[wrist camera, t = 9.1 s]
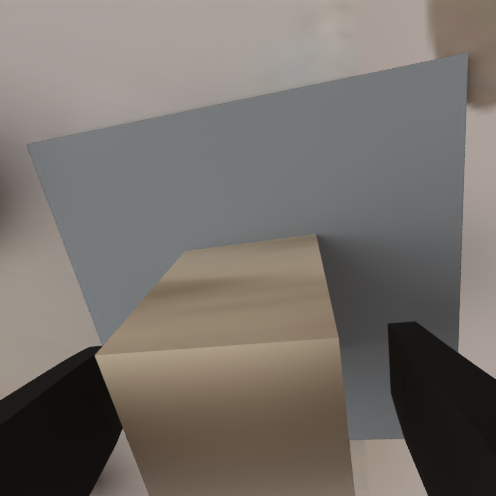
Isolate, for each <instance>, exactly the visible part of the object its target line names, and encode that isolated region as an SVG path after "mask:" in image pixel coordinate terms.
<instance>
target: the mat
mask: <svg viewBox="0 0 496 496" xmlns="http://www.w3.org/2000/svg"><path fill="white" fill-rule="evenodd" d="M467 73H468V53H465V54H460V55H455V56H450V57H446V58H441V59H436V60H431V61H427V62H421V63H417V64H412V65H407V66H403V67H398V68H393V69H388V70H384V71H378V72H373V73H369V74H364V75H359V76H354V77H349V78H344V79H340V80H335V81H330V82H325V83H320V84H316V85H311V86H306V87H301V88H296V89H292V90H287V91H282V92H277V93H272V94H267V95H263V96H258V97H253V98H248V99H243V100H239V101H234V102H229V103H224V104H219V105H215V106H210V107H205V108H200V109H195V110H190V111H186V112H181V113H176V114H171V115H166V116H162V117H157V118H152V119H147V120H142V121H137V122H133V123H128V124H123V125H118V126H113V127H109V128H104V129H99V130H94V131H89V132H85V133H80V134H75V135H70V136H65V137H60V138H56V139H51V140H46V141H41V142H36V143H32V144H27V147H28V150H29V153H30V155H31V158H32V161H33V163H34V166H35V169H36V171H37V174H38V177H39V179H40V182H41V185H42V187H43V190H44V193H45V195H46V198H47V200H48V203H49V206H50V208H51V211H52V214H53V216H54V219H55V222H56V224H57V227H58V230H59V232H60V235H61V238H62V240H63V243H64V245H65V248H66V251H67V253H68V256H69V259H70V261H71V264H72V267H73V269H74V272H75V275H76V277H77V280H78V283H79V285H80V288H81V290H82V293H83V296H84V298H85V301H86V304H87V306H88V309H89V312H90V314H91V317H92V320H93V322H94V325H95V328H96V330H97V333H98V336H99V338H100V341H101V343H102V346H103V345H104V344H105V343H106V342H107V341H108V339H109V338H110V337H111V336H112V335H113V334H114V333H115V331H116V330H117V329H118V328H119V327H120V326H121V324H122V323H123V322H124V321H125V320H126V319H127V317H128V316H129V315H130V314H131V313H132V312H133V310H134V309H135V308H136V307H137V306H138V305H139V304H140V302H141V301H142V300H143V299H144V298H145V297H146V295H147V294H148V293H149V292H150V291H151V290H152V288H153V287H154V286H155V285H156V284H157V283H158V282H159V280H160V279H161V278H162V277H163V276H164V275H165V273H166V272H167V271H168V270H169V269H170V268H171V266H172V265H173V264H174V263H175V262H176V261H177V260H178V258H179V257H180V256H181V255H182V254H183V253H184V251H189V250H196V249H204V248H212V247H220V246H228V245H235V244H243V243H251V242H259V241H267V240H275V239H282V238H290V237H298V236H306V235H314V234H316V237H317V241H318V246H319V250H320V255H321V259H322V264H323V269H324V273H325V278H326V282H327V287H328V291H329V296H330V301H331V305H332V310H333V314H334V319H335V323H336V328H337V333H338V337H339V346H340V356H341V366H342V376H343V385H344V395H345V405H346V415H347V424H348V434H349V440H367V439H404V436H403V433H402V430H401V426H400V423H399V420H398V416H397V413H396V410H395V406H394V403H393V399H392V396H391V389H390V367H389V346H388V325H387V323H400V322H413V321H416V322H417V323H418V324H420V325H421V326H423V327H424V328H425V329H427V330H428V331H429V332H431V333H432V334H433V335H435V336H436V337H437V338H439V339H440V340H441V341H443V342H444V343H446V344H447V345H448V346H450V347H451V348H452V349H454V350H455V351H456V352H458V338H459V309H460V308H459V307H460V279H461V250H462V219H463V190H464V161H465V160H464V158H465V132H466V131H465V130H466V102H467Z"/></svg>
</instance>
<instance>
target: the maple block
mask: <svg viewBox="0 0 496 496" xmlns="http://www.w3.org/2000/svg"><path fill="white" fill-rule="evenodd" d="M95 358H96V360H97V363H98V365H99V368H100V370H101V373H102V375H103V378H104V381H105V383H106V386H107V388H108V391H109V393H110V396H111V399H112V401H113V404H114V406H115V409H116V411H117V414H118V416H119V419H120V422H121V424H122V427H123V429H124V432H125V434H126V437H127V440H128V442H129V445H130V447H131V450H132V452H133V455H134V458H135V460H136V463H137V465H138V468H139V470H140V473H141V475H142V478H143V481H144V483H145V486H146V488H147V491H148V493H149V496H355V493H354V483H353V473H352V463H351V454H350V444H349V434H348V424H347V415H346V405H345V395H344V385H343V376H342V366H341V356H340V346H339V337H338V333H337V328H336V323H335V319H334V314H333V310H332V305H331V301H330V296H329V291H328V287H327V282H326V278H325V273H324V269H323V264H322V259H321V255H320V250H319V246H318V241H317V237H316V234H314V235H306V236H298V237H290V238H282V239H275V240H267V241H259V242H251V243H243V244H235V245H228V246H220V247H212V248H204V249H196V250H189V251H184V253H183V254H182V255H181V256H180V257H179V258H178V260H177V261H176V262H175V263H174V264H173V265H172V266H171V268H170V269H169V270H168V271H167V272H166V273H165V275H164V276H163V277H162V278H161V279H160V280H159V282H158V283H157V284H156V285H155V286H154V287H153V288H152V290H151V291H150V292H149V293H148V294H147V295H146V297H145V298H144V299H143V300H142V301H141V302H140V304H139V305H138V306H137V307H136V308H135V309H134V310H133V312H132V313H131V314H130V315H129V316H128V317H127V319H126V320H125V321H124V322H123V323H122V324H121V326H120V327H119V328H118V329H117V330H116V331H115V333H114V334H113V335H112V336H111V337H110V338H109V339H108V341H107V342H106V343H105V344H104V345H103V346H102V348H101V349H100V350H99V351H98V352H97V353H96V355H95Z"/></svg>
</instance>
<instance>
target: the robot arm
mask: <svg viewBox="0 0 496 496" xmlns="http://www.w3.org/2000/svg"><path fill="white" fill-rule="evenodd" d="M387 325H388V346H389V367H390V389H391V396H392V399H393V403H394V406H395V410H396V413H397V416H398V420H399V423H400V426H401V430H402V433H403V436H404V439H405V441H406V444H407V446H408V449H409V451H410V453H411V456H412V458H413V461H414V463H415V465H416V468H417V470H418V473H419V475H420V477H421V480H422V482H423V485H424V487H425V489H426V492H427V494H428V496H496V379H495V378H493V377H492V376H490V375H489V374H487V373H486V372H484V371H483V370H482V369H480V368H479V367H477V366H476V365H474V364H473V363H472V362H470V361H469V360H467V359H466V358H464V357H463V356H462V355H461V354H459V353H458V352H456V351H455V350H454V349H452V348H451V347H450V346H448V345H447V344H446V343H444V342H443V341H441V340H440V339H439V338H437V337H436V336H435V335H433V334H432V333H431V332H429V331H428V330H427V329H425V328H424V327H423V326H421V325H420V324H418V323H417V322H416V321H413V322H400V323H387ZM101 348H102V346H94V347H89V348H87V349H84V350H82V351H80V352H79V353H77V354H75V355H73V356H71V357H70V358H68V359H66V360H65V361H63V362H61V363H60V364H58V365H56V366H55V367H53V368H51V369H50V370H48V371H46V372H45V373H43V374H42V375H40V376H38V377H37V378H35V379H34V380H32V381H30V382H29V383H27V384H26V385H24V386H22V387H21V388H19V389H18V390H16V391H14V392H13V393H11V394H10V395H8V396H6V397H5V398H3V399H2V400H0V496H89V495H90V493H91V491H92V490H93V488H94V486H95V484H96V482H97V480H98V478H99V476H100V474H101V473H102V471H103V469H104V467H105V465H106V463H107V461H108V459H109V457H110V455H111V453H112V451H113V449H114V447H115V445H116V443H117V441H118V438H119V436H120V433H121V431H122V429H123V427H122V424H121V422H120V419H119V416H118V414H117V411H116V409H115V406H114V404H113V401H112V399H111V396H110V393H109V391H108V388H107V386H106V383H105V381H104V378H103V375H102V373H101V370H100V368H99V365H98V363H97V360H96V358H95V355H96V353H97V352H98V351H99V350H100V349H101Z"/></svg>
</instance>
